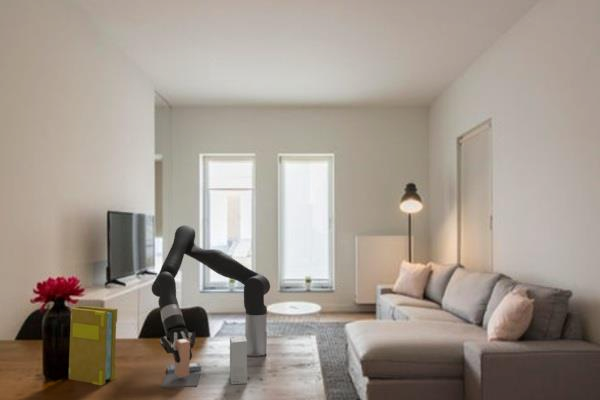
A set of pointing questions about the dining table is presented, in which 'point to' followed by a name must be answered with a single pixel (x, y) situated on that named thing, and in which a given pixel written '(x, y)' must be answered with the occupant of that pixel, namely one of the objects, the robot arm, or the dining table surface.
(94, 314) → the book
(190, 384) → the mat
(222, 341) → the dining table surface
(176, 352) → the robot arm
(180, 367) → the tan rectangular block
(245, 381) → the skincare box
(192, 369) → the blue panel box
